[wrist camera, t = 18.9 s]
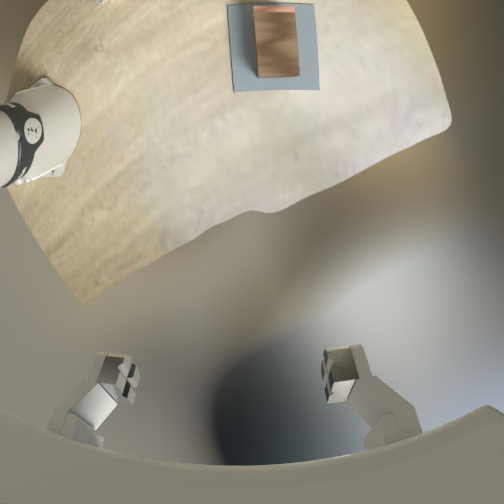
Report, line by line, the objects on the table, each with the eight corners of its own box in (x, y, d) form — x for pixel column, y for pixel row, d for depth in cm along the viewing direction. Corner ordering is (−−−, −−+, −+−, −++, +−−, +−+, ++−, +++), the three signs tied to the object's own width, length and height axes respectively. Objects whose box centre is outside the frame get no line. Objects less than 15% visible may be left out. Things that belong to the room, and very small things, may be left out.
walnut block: (258, 76, 29) (253, 6, 23) (257, 78, 33) (252, 15, 27) (299, 75, 28) (294, 6, 23) (293, 77, 33) (289, 15, 27)
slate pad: (234, 92, 34) (234, 92, 34) (227, 6, 26) (227, 5, 26) (319, 90, 34) (319, 90, 34) (313, 5, 26) (313, 4, 26)
